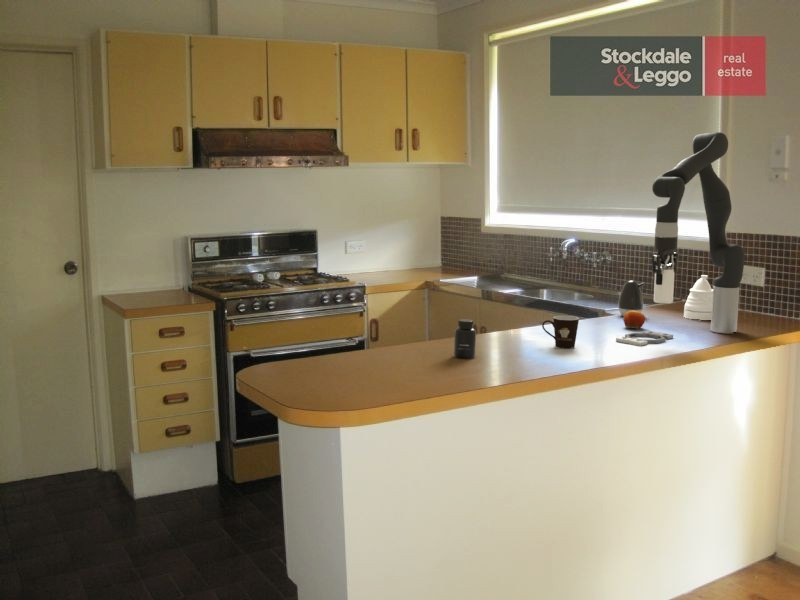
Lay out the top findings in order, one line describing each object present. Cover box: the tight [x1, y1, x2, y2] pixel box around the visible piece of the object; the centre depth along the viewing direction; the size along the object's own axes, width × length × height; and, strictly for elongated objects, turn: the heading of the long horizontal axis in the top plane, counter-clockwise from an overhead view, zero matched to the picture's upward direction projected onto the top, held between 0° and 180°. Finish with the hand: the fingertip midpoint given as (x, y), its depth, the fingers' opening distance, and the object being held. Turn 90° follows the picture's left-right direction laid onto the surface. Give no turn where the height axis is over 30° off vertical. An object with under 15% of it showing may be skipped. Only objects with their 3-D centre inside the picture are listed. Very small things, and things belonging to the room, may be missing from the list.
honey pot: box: [683, 274, 713, 321], centre depth 348 cm, size 13×13×18 cm
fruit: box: [623, 311, 646, 330], centre depth 324 cm, size 8×8×8 cm
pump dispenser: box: [617, 279, 646, 317], centre depth 350 cm, size 10×10×15 cm
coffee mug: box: [541, 315, 580, 350], centre depth 289 cm, size 12×9×10 cm
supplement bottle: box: [453, 318, 477, 360], centre depth 271 cm, size 7×7×12 cm
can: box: [653, 267, 675, 305], centre depth 293 cm, size 6×6×12 cm
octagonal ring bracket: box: [615, 330, 674, 347], centre depth 302 cm, size 22×13×1 cm, turn 133°
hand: (663, 283), depth 293 cm, fingers closed on can, 6 cm apart
